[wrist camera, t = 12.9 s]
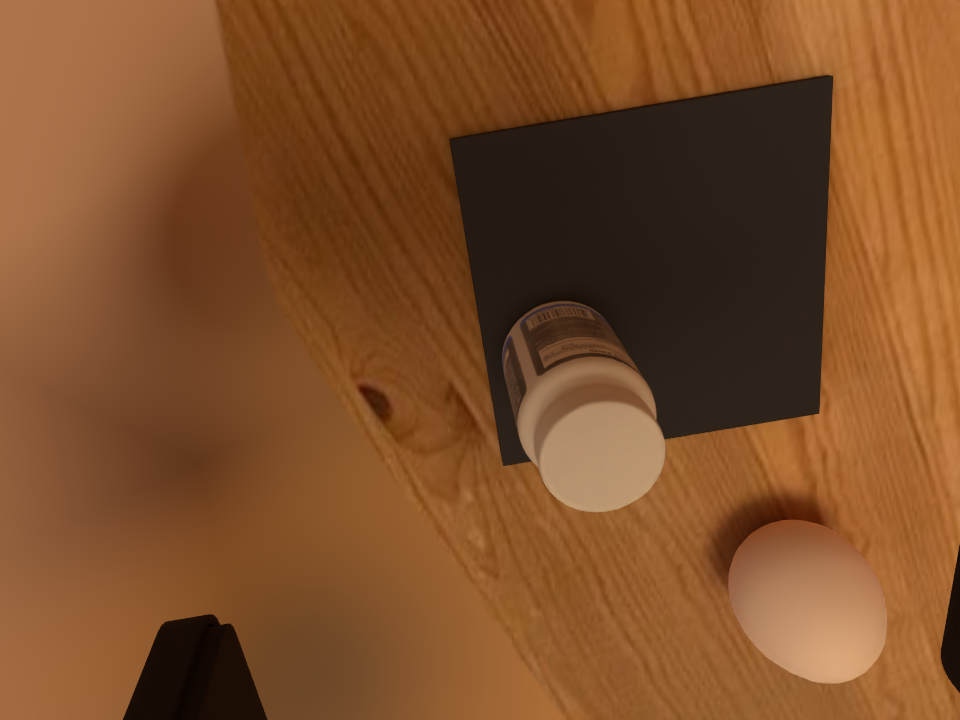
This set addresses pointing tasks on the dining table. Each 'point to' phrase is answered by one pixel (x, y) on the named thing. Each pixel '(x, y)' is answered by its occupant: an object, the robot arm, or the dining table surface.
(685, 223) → the slate mat
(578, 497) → the pill bottle
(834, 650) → the egg
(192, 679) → the robot arm
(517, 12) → the dining table surface
